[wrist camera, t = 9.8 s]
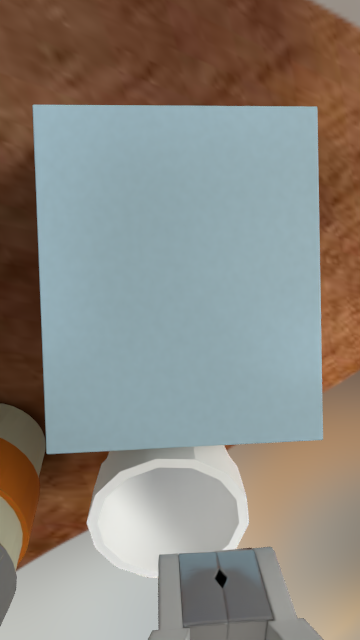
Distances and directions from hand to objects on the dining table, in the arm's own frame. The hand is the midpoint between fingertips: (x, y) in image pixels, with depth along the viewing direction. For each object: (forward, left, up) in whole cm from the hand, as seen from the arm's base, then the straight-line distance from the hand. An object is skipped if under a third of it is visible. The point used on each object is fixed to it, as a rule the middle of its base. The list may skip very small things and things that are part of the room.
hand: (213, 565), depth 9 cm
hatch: (-5, 0, -11) cm, 12 cm away
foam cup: (+9, -1, -22) cm, 23 cm away
